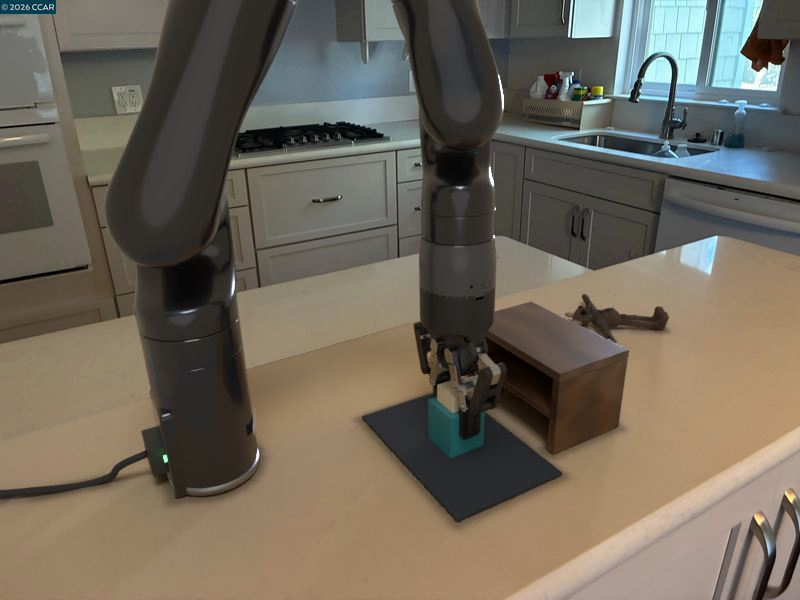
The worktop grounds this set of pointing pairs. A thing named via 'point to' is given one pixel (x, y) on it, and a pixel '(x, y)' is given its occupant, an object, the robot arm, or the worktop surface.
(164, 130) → the robot arm
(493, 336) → the shelf
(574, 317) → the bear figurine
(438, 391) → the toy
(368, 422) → the mat
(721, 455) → the worktop surface
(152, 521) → the worktop surface
